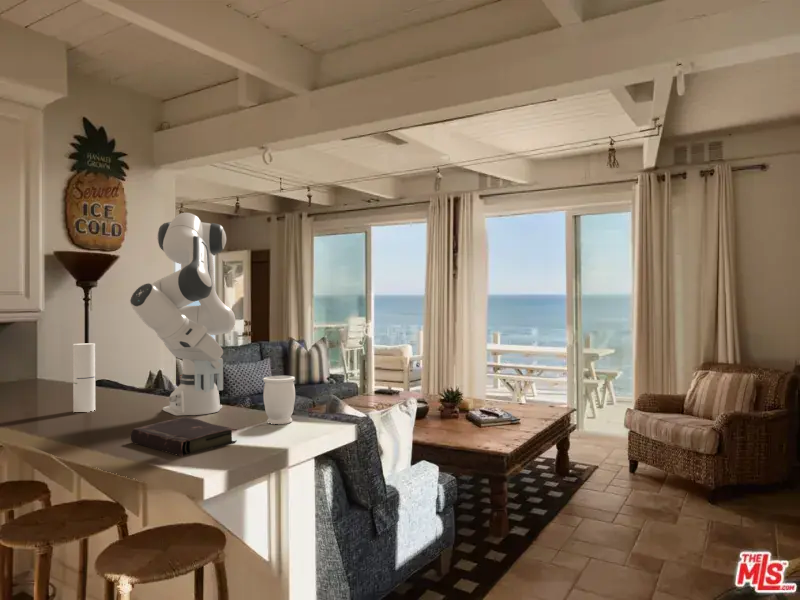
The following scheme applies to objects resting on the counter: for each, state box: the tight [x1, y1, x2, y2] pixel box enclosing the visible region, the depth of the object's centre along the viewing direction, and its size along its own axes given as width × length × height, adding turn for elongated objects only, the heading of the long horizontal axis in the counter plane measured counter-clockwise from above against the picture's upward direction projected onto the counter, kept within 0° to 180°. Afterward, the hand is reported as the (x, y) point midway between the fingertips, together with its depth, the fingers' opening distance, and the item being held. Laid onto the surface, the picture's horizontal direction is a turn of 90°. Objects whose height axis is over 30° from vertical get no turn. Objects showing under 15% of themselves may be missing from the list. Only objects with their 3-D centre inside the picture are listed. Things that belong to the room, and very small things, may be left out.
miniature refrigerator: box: [72, 342, 96, 413], centre depth 210 cm, size 7×7×25 cm
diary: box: [130, 416, 238, 457], centre depth 162 cm, size 19×25×5 cm
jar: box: [262, 375, 296, 425], centre depth 188 cm, size 11×10×15 cm
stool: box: [195, 357, 224, 392], centre depth 163 cm, size 6×6×9 cm
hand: (210, 366), depth 163 cm, fingers closed on stool, 6 cm apart
